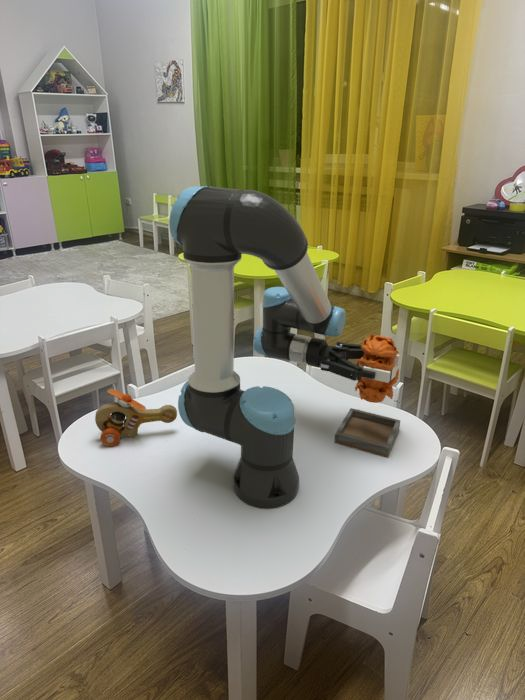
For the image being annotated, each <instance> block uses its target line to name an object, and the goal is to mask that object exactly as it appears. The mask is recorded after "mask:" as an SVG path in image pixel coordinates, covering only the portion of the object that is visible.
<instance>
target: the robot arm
mask: <svg viewBox="0 0 525 700" xmlns="http://www.w3.org/2000/svg"><path fill="white" fill-rule="evenodd" d="M170 209H171V210H170V213H169V220H168V223H169V224H168V225H169V226H168V227H169V232H170V236H171V237H172V238H173V240H174V241H175V243H177V244H178V245H179V246H182V248H183V249H182V250H183V252H182V255H183V256H182V257H183V260H184V261H185V262H186V263H187V264H188V265H189V266H191V267H190V268H191V290H192V291H191V293H192V298H191V299H192V324H193V325H192V327H193V331H192V332H193V352H194V353H193V359H194V371H193V372H192V373H191V374H190V375H189V377H188V379H187V380H186V381H185V382H184V384H183V385H182V387H181V389H180V393H181V394H180V395H178V401H177V409H178V413H179V417H180V418H181V421H182V422H183V423H184V424H185V425H186V426H188V427H190V428H192V429H194V430H195V431H198V432H199V433H200V432H201V433H206V434H208V435H211V436H214V437H217V438H220V439H223V440H225V441H228V442H231V443H234V444H236V445H239V446H240V458H239V461H238V464H237V466H236V467H235V468H236V469H235V471H234V473H233V477H232V478H233V491H234V493H235V495H236V496H237V497H238V499H240V500H241V501H242V502H244V503H245V504H247V505H249V506H252V507H256V508H261V509H262V508H263V509H264V508H265V509H271V508H278V507H282V506H284V505H286V504H288V503H290V502H291V501H292V500H293V499H294V498H295V497H296V496H297V494H298V492H299V488H300V487H299V486H300V475H299V473H298V470H297V467H296V464H295V463H296V462H295V460H294V458H293V455H294V440H295V425H296V416H295V406H294V403H293V400H292V399H291V398H290V397H289V396H288V394H286V393H284V392H283V391H281V390H280V389H278V388H275V387H271V386H266V385H265V386H264V385H263V386H262V387H261V386H258V385H256V386H252V387H249V388H247V389H245V390H243V389H241V376H240V374H239V373H237V372H236V371H235V370H234V365H235V364H234V361H235V360H234V358H235V357H234V353H235V351H234V347H235V346H234V343H235V341H234V340H235V338H234V337H235V336H234V335H235V333H234V331H235V328H234V326H235V323H234V322H235V319H234V318H235V308H234V307H235V267H236V265H237V264H238V263H240V261H242V256H243V255H249V256H253V257H255V258H258V259H260V260H261V261H262V262H263V264H264V265H265V266H266V267H267V268H268V269H270V270H271V271H272V270H273V271H274V272H275V274H276V275H277V277H278V279H279V280H280V282H281V283H282V285H283V286H273V287H269V288H266V289H265V290H264V292H263V294H262V296H263V299H262V305H261V306H262V327H260V328H258V329H257V330H256V332H255V334H254V337H253V342H252V345H253V346H252V347H253V350H254V351H255V353H257V354H259V355H262V356H265V357H267V358H275V359H280V360H284V361H288V362H292V363H297V364H298V365H300V364H302V365H306V364H307V366H310V367H315V368H320V370H321V371H324V372H329V373H332V374H334V375H337V376H340V377H342V378H343V377H344V378H346V379H348V380H351V381H353V382H355V381H356V382H358V381H361V377H364V378H368V379H373V380H377V381H382V382H386V383H389V382H390V381H391V371H385V370H380V369H376V368H371V367H366V366H364V367H363V366H362V367H361V366H360V365H359V366H358V365H356V363H353V362H352V361H350V360H360V359H361V357H363V356H364V352H363V350H362V349H361V345H362V344H359V343H358V344H357V343H345V342H341V341H337V342H336V345H329V344H328V343H327V342H328V341H327V340H326V339H323V338H317V337H311V336H310V335H309V336H308V335H302V334H298V333H292V332H291V330H292V329H296V330H300V331H304V332H309V333H313V334H318V335H323V336H324V337H326V336H328V337H335V338H337V337H339V336H340V335H342V333H343V331H344V328H345V324H346V321H347V319H346V318H347V317H346V316H347V314H346V310H345V309H344V308H343V307H339V306H337V305H332V303H331V302H330V300H329V298H328V295H327V294H326V291H325V288H324V286H323V285H322V282H321V281H320V278H319V275H318V274H317V271H316V269H315V267H314V264H313V262H312V261H311V258H310V256H309V254H308V250H309V242H308V239H307V237H306V236H307V235H306V234H305V232H304V230H303V228H302V227H301V225H300V224H299V222H298V221H297V219H296V218H295V217H294V216H293V215H292V213H291V212H290V211H289V210H288V209H287V208H286V207H285V206H283V204H282V203H280V202H279V201H278V200H276V199H275V198H274V197H272V196H270V195H268V194H266V193H264V192H261V191H258V190H253V189H236V188H228V187H217V186H207V185H203V186H191V187H190V186H189V187H187V188H186V189H183V191H181V192H180V193H179V194H178V196H177V198H176V199H175V200H174V202H173V204H172V207H171V208H170ZM399 361H400V354H397V356H396V358H395V362H394V365H395V367H398V366H399ZM362 368H363V369H362Z"/></svg>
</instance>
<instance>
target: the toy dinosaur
mask: <svg viewBox="0 0 525 700" xmlns="http://www.w3.org/2000/svg"><path fill="white" fill-rule="evenodd" d="M394 342H395V341H394V340H393V338H392V337H386V336H384V335H378V334H377V335H375V334H373V333H371V334H370V337H366V338H365V339H364V341H363V343H362V344H360V345H361V349H362V350H363V352H364V356H363V357H361V359H356V362H355V364H356V365H358V366H359V367H360V365H362V367H361V368H362V369H363V367H364V366H366V367H371V368H376V369H380V370H385V371H390V372H391V371H392V370H393V369H394V368H395V367H396V365H394V362H395V358H396V356H397V355H398V354H399V353H400V351H399V350H398V348H397V347H396V344H395V343H394ZM399 372H400V369H399V368H397V370H396V373H395V376H394V377H393V378H392V379H390V381H389V383H386V382H382V381H377V380H373V379H368V378H364V377H361V381H356V385H355V387H354V389H355V390H354V392H357V390H358V392H359V393H358V394H359V397H360V400H364V401H366V402H368V403H376V404H377V403H382V402H383V401H384V400H385V399H386V397H388V398H390V399H391V400H393V398H394V391H393V389H394V387H393V386H394V385H396V383H398V380H399Z"/></svg>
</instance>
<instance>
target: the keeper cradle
mask: <svg viewBox="0 0 525 700" xmlns="http://www.w3.org/2000/svg"><path fill="white" fill-rule="evenodd" d="M400 426H401V419H397V418H393V417H388V416H384V415H380V414H377V413H371V412H369V411H368V412H367V411H365V410H360V409H356V408H352V407H350V409H349V410H348V411H347V413H346V415H345V417H344V418H343V420H342V422H341V423H340V425H339V426H338V429H336V432H335V435H334V444H337V445H341V446H345V447H348V448H352V449H355V450H358V451H362V452H366V453H370V454H373V455H376V456H380V457H383V458H387V459H388V458H389V456H390V453H391V451H392V448H393V445H394V443H395V441H396V438H397V436H398V433H399V430H400Z"/></svg>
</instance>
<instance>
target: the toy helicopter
mask: <svg viewBox="0 0 525 700" xmlns="http://www.w3.org/2000/svg"><path fill="white" fill-rule="evenodd" d="M106 391H107V393H108V395H111V396H113V397H115V398H118V400H117V402H115V401H114V402H109V403H105V404H103V405H101V406H99V408H98V409H97V410H96V411H95V416H94V417H95V418H94V419H95V424H96V426H97V428H98V429H99V431H100V432H101V434H100V442H101V443H102V445H104V446H105V447H110V448H111V447H115V446H117V445H118V444H119V443H120V441H121V437H126V436H129V437H131V438H135V437H137V436H138V431H139V429H140V426H141V425H142V424H145V423H153V422H162V423H165V424H171V423H174V421H175V420H176V419H177V416H178V411H177V408H176V407H175V406H174V405H172V404H164V405H162V406H161V407H160V408H159V407H158V408H148V409H147V407H146V406H145V405H143V404H141V403H140V402H138V401H137V400H136V399H133V398H132V396H131V395H130V394H129V393H127V394H126V393H123V392H120V391H119V390H117V389H114V388H109V389H107V390H106Z"/></svg>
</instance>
